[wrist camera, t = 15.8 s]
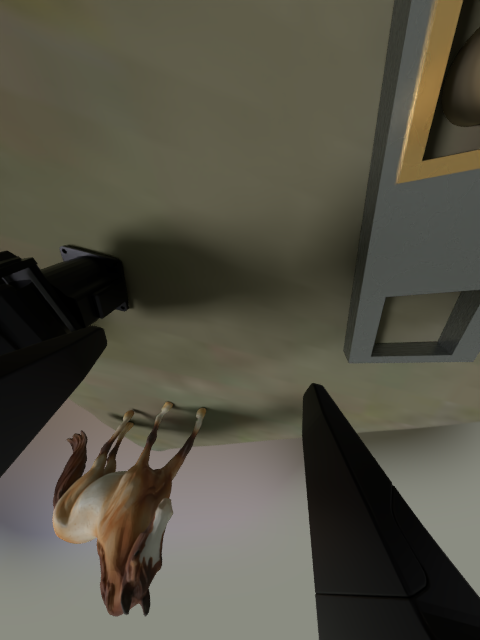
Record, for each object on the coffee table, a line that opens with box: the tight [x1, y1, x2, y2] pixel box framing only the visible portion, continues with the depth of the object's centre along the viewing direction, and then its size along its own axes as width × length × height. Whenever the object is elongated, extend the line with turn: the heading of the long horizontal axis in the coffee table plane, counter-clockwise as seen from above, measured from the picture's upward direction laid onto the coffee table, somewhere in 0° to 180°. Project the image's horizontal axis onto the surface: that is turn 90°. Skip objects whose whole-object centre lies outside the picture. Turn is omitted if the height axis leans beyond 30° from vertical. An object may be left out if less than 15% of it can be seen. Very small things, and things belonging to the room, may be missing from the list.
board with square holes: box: [343, 0, 480, 363], centre depth 14 cm, size 25×11×2 cm, turn 10°
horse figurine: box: [53, 402, 206, 616], centre depth 30 cm, size 31×8×21 cm, turn 117°
